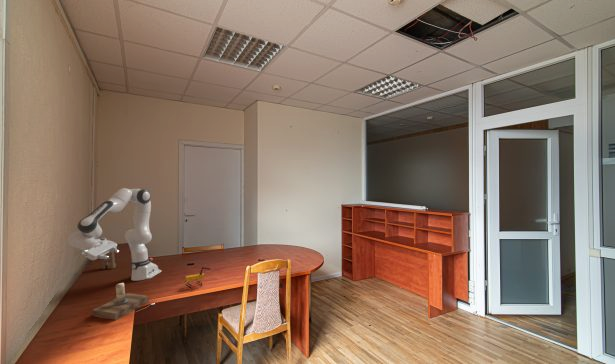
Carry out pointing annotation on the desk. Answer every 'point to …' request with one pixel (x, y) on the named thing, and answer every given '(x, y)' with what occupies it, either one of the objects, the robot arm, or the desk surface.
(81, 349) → the desk surface
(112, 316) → the peg hole board
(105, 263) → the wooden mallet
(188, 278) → the robot dog
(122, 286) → the beech peg
